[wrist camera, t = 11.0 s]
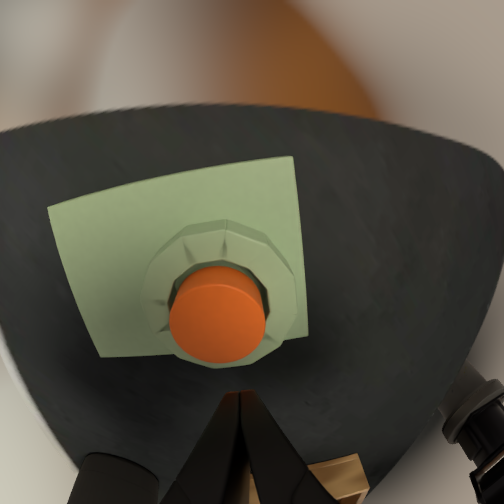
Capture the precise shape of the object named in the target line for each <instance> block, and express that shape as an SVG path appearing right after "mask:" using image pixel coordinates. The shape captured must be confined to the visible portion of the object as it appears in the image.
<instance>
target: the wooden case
mask: <svg viewBox="0 0 504 504" xmlns="http://www.w3.org/2000/svg"><path fill="white" fill-rule="evenodd" d="M307 466H308V468H309V470H311V471H312V473H313V474H314V475H315V477H316V478H317V479H318V480H319V482H320V483H321V484H322V485H323V486H324V488H325V489H326V490H327V491H328V492H329V493H330V494H331V495H332V496H333V497H334V498H335V499H336V500H337V501H338V502H339V503H340V504H361V503H362V501H363V500H364V498H365V496H366V494H367V492H368V490H369V488H370V487H369V484H368V482H367V479H366V476H365V473H364V470H363V468H362V465H361V462H360V459H359V457H358V454H357V453H356V454H352V455H349V456H345V457H341V458H337V459H333V460H329V461H325V462H320V463H316V464H311V465H307ZM249 504H260V502H259V498H258V494H257V491H256V487H255V483H254V479H253V475H252V474H250V491H249Z"/></svg>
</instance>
